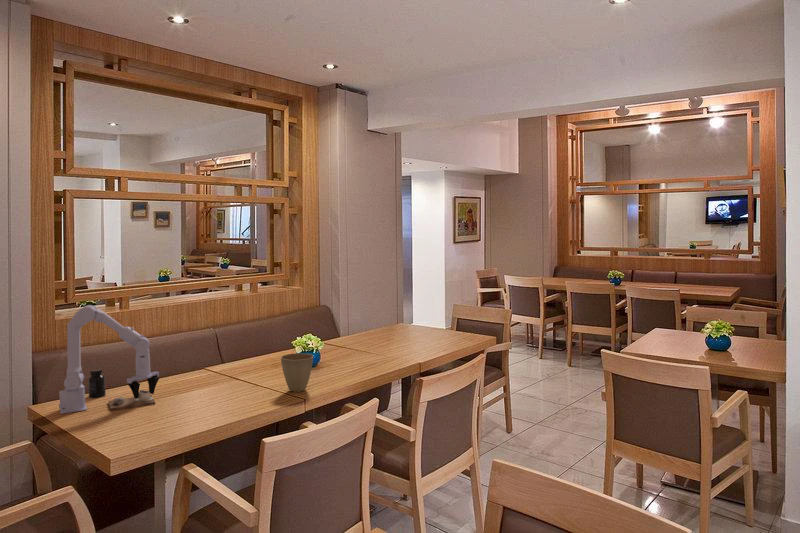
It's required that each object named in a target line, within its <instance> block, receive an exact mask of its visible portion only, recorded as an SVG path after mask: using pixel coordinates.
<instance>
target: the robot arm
mask: <svg viewBox="0 0 800 533" xmlns="http://www.w3.org/2000/svg"><path fill="white" fill-rule="evenodd" d="M93 320H94V323H102V324H105V325H106V326H107V327H109V329H110V328H111V329H112V330H114V331H115V332H116V333H118V337H119V338H120V339H121V340H122V341H124V342H125V343H127V344H128V345H130V346H132V347H134V349H135V356H134V358H135V375H133V376H131V377H129V378H126V383H127V385H128V387H129V388H130V390H131V393H132V396H133V397H134V398H137V399H138V398H139V392H140V387H141V381H143V380H147V384H148V391H150V395H154V394H155V389H156V387H157V384H158V382H159V380H160V377H159V376H160V371H157V370H156V371H151V355H150V345H151V344H150V340H149V339H148V338H147V337H146V336H144V334H142V333H141V334H140V333H139V332H137V331H136V330H135V327H133V326H131V327H130V326H123V325H122V324H121V323H119V322H118V321H117V320H116V319H115V318H113V317H111V316H110V315H109V314H108V313H106V312H105V311H103V310H102V309H100V308H97V307H96V305H95V306H94V305H93V304H87V305H84V306H83V307H82V308H80V309H78V311H76V312H75V314H74V315H73V316H72V317H71V319H70V320H69V322H68V323H67V324H66V325H67V326H66V328H67V329H66V331H67V332H66V336H67V337H66V340H67V342H66V343H67V345H66V346H67V369H66V377H65V379H64V381H63V386H64V389H63V390H58V393H59V404H58V408H59V413H60V415H62V414H69V413H75V412H81V411H87V410H88V408H87V404H86V396H85V395H86V390H85V387H86V386H85V385H84V384H83V382H84V381H85V374H84V373H83V371H82V369H83V368H82V362H81V361H82V358H81V357H82V354H81V353H82V352H81V350H82V349H81V348H82V347H81V344H82V343H81V342H82V341H81V339H82V338H81V328H83V326H85V325H86V324H88V323H90V322H92V321H93ZM139 381H140V382H139Z"/></svg>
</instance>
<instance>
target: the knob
mask: <svg viewBox="0 0 800 533" xmlns="http://www.w3.org/2000/svg"><path fill="white" fill-rule="evenodd" d="M150 395H151V394H150V391H149V390H142V389H141V390H139V398H138V400H139V401H144V400H148V399H150Z"/></svg>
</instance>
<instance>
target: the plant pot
mask: <svg viewBox="0 0 800 533" xmlns="http://www.w3.org/2000/svg"><path fill="white" fill-rule="evenodd" d="M280 363H281V368H282V372H283V376H284V380H285V383H286V385H287V388H288V390H290V391H303V390H305V389H306V390H307V387H308V383H309V381H310V378H311V372H312V369H313V368H312V367H313V363H314V355H313V354H310V353H287V354H285V355H281V357H280ZM306 390H305V391H306ZM290 391H289V392H290ZM303 392H304V391H303Z"/></svg>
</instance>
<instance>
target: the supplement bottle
mask: <svg viewBox="0 0 800 533" xmlns="http://www.w3.org/2000/svg"><path fill="white" fill-rule="evenodd" d="M89 373H90V374H89V377H88V379H87V383H88V384H87V386H88V397H89V398H90V399H96V398H97V399H99V398H102V397H103V398H104V397H105V396H106V394H107V392H106V391H107V390H106V377H105V375H103V369H102V368H101V369H100V368H99V369H98V368H97V369H91V370H90V371H89Z"/></svg>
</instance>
